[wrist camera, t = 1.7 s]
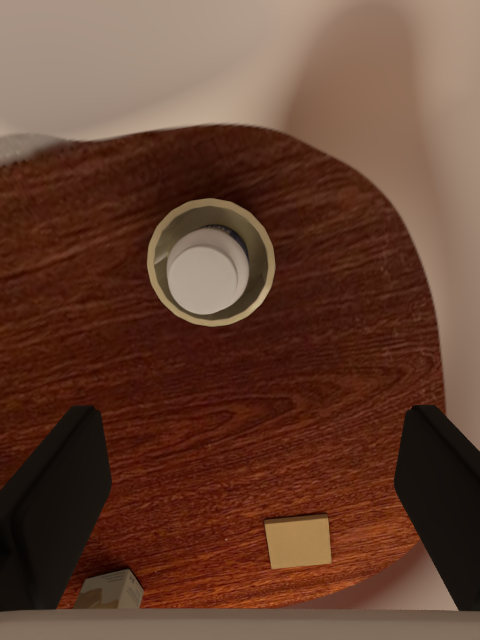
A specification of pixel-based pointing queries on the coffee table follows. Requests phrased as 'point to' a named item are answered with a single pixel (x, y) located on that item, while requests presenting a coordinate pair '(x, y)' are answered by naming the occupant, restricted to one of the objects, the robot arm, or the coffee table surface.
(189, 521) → the coffee table surface
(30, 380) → the coffee table surface
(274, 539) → the mat
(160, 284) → the bucket
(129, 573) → the cosmetic box
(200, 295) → the pill bottle
